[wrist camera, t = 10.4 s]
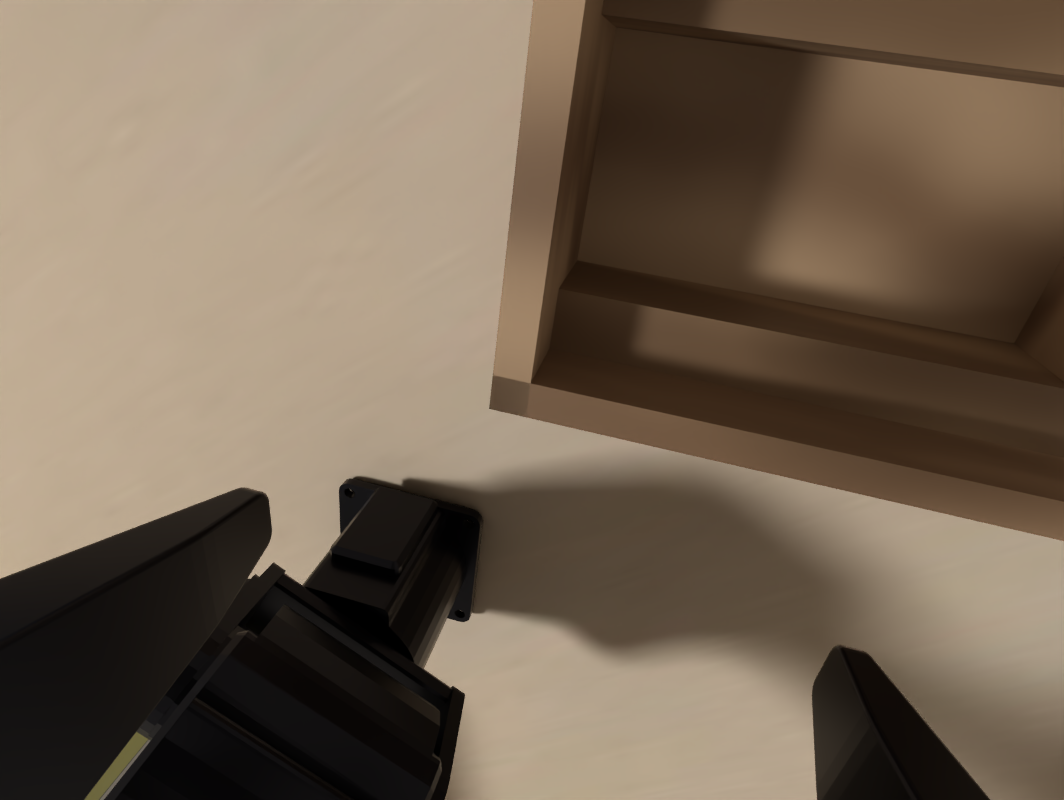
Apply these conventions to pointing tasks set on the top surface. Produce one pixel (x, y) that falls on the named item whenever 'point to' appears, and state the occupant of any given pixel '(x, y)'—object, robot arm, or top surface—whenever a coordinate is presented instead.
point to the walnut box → (799, 242)
